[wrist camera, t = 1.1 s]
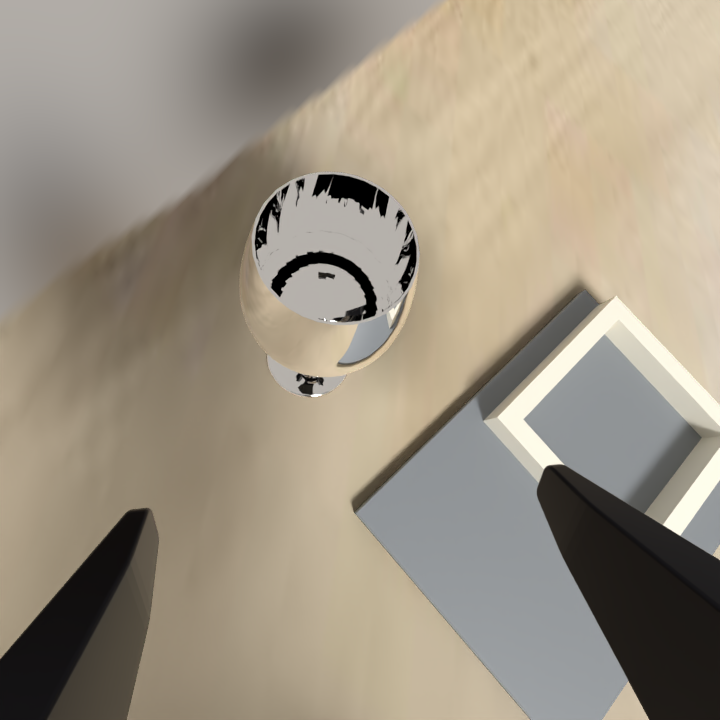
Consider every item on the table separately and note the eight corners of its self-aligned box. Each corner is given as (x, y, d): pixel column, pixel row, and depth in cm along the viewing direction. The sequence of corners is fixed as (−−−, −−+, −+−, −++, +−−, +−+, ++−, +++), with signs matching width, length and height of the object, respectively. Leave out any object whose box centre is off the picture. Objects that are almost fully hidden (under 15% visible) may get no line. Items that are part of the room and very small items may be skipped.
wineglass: (236, 329, 23) (194, 188, 12) (334, 290, 25) (382, 132, 13) (282, 428, 22) (284, 382, 11) (380, 382, 24) (474, 298, 12)
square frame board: (753, 478, 26) (793, 479, 24) (563, 757, 21) (594, 790, 19) (578, 293, 28) (603, 278, 25) (354, 512, 22) (361, 516, 20)
